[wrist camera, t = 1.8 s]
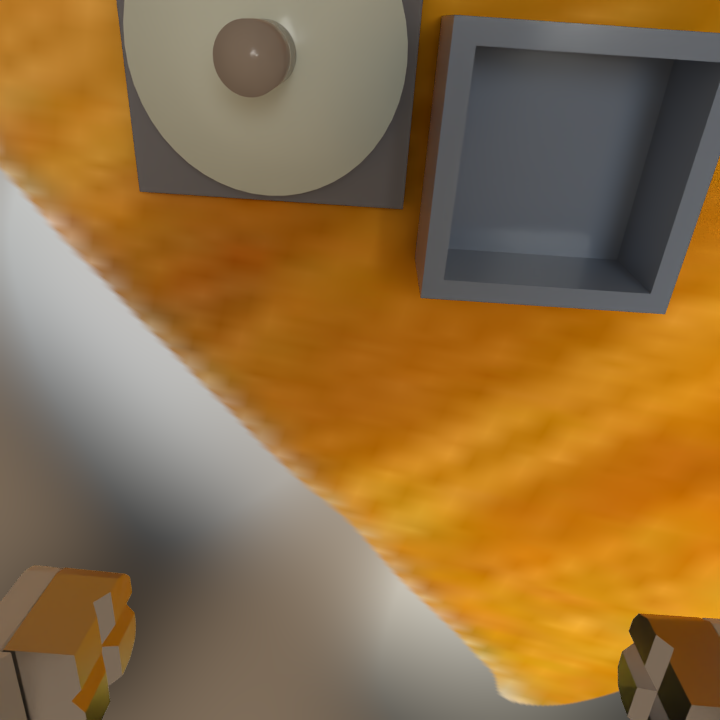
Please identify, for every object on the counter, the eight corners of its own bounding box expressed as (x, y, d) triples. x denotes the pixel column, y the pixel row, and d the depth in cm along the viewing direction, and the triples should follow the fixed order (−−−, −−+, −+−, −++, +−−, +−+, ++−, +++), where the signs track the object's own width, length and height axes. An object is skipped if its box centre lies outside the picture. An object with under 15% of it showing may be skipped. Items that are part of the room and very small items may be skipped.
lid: (112, -132, 25) (51, -167, 20) (421, -111, 25) (431, -141, 20) (148, 182, 32) (108, 211, 27) (394, 198, 32) (397, 229, 27)
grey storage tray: (441, 15, 28) (454, 14, 23) (696, 33, 28) (761, 36, 23) (414, 258, 34) (420, 298, 29) (624, 272, 34) (665, 314, 29)
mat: (106, -144, 26) (98, -148, 25) (433, -121, 26) (434, -125, 25) (144, 187, 32) (139, 191, 32) (402, 205, 33) (402, 209, 32)
